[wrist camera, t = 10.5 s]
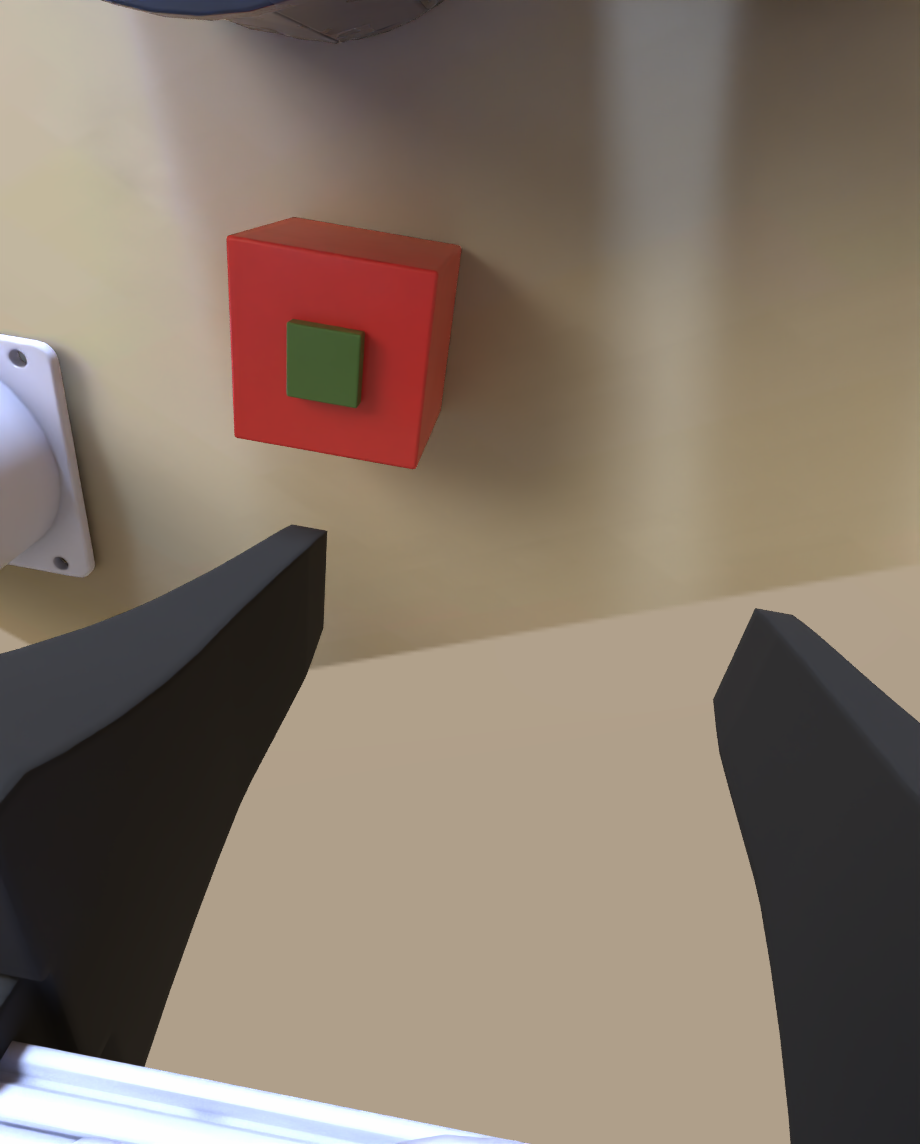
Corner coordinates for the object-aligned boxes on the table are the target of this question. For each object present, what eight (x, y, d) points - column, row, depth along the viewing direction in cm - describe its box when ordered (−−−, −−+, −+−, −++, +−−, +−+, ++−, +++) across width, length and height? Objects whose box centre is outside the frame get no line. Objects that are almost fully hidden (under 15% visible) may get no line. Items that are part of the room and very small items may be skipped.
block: (290, 385, 20) (226, 444, 16) (291, 216, 17) (216, 236, 14) (440, 412, 20) (413, 478, 16) (462, 245, 17) (435, 275, 13)
